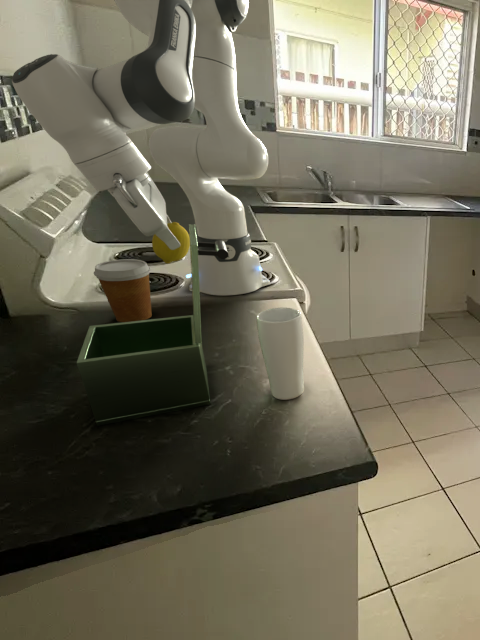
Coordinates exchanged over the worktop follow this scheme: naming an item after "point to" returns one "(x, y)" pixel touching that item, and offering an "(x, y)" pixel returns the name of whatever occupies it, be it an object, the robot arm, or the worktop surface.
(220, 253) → the lid
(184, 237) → the lemon
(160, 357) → the green tapered box
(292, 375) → the drinking glass
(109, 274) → the disposable coffee cup
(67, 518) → the worktop surface
